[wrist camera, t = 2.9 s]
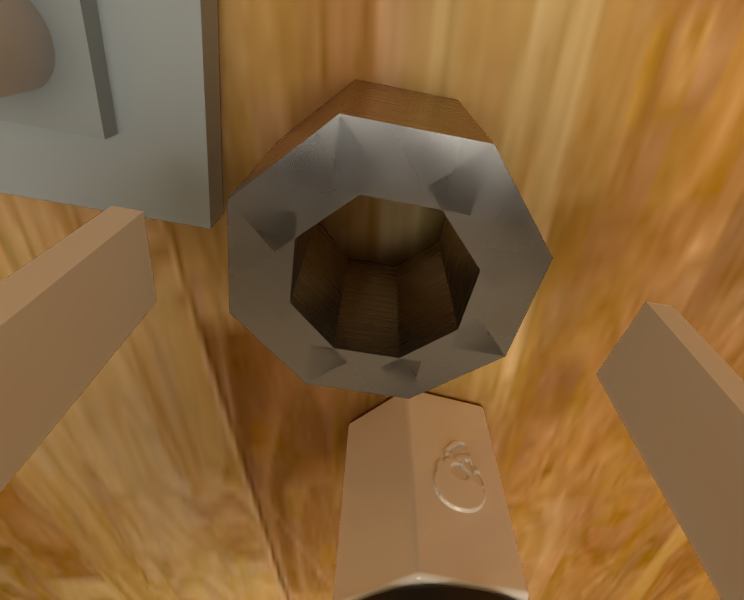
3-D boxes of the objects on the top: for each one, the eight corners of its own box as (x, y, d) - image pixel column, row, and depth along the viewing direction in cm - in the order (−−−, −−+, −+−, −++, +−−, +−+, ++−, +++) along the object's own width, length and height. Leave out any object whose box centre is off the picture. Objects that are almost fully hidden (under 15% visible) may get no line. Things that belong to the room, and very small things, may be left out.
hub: (271, 280, 19) (230, 372, 14) (281, 64, 14) (225, 91, 9) (456, 310, 20) (479, 409, 15) (527, 114, 15) (598, 164, 10)
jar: (520, 410, 24) (616, 695, 14) (461, 487, 28) (502, 745, 18) (368, 374, 22) (354, 659, 12) (332, 461, 27) (301, 722, 17)
